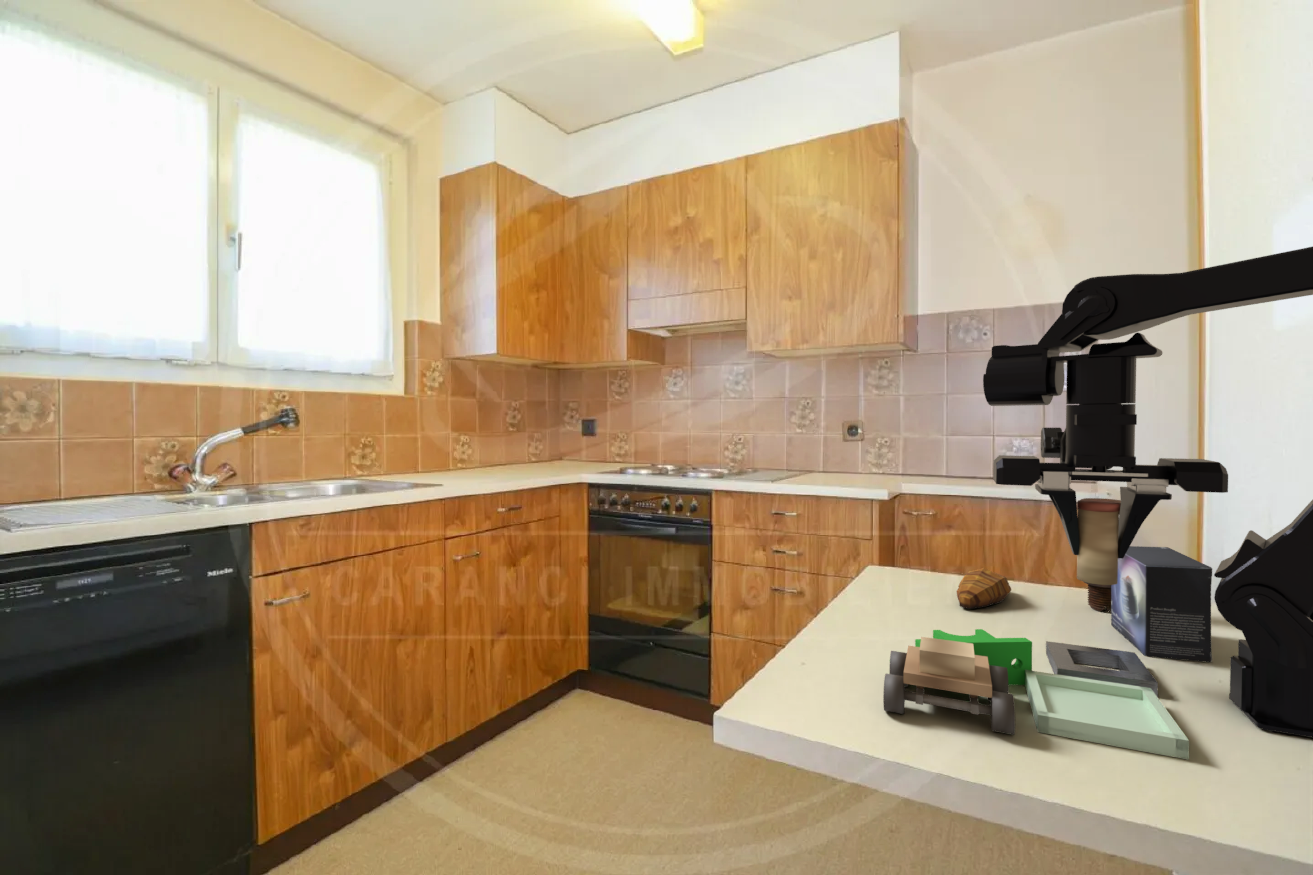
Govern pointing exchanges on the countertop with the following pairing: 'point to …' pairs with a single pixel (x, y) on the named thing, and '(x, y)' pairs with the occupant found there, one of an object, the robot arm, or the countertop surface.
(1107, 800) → the countertop surface
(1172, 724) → the tray
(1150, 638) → the small box
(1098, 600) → the bolt
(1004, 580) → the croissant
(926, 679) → the toy car
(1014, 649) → the pipe clamp
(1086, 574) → the pin
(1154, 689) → the socket
